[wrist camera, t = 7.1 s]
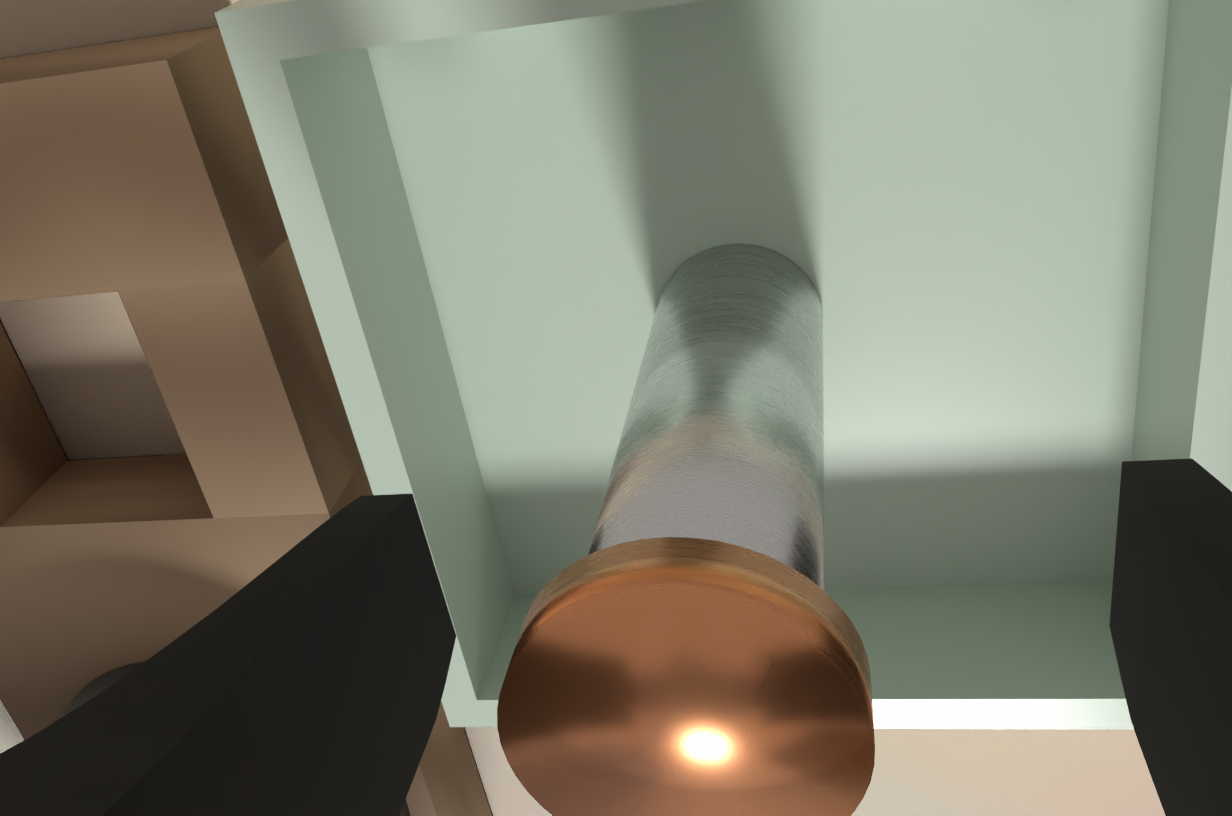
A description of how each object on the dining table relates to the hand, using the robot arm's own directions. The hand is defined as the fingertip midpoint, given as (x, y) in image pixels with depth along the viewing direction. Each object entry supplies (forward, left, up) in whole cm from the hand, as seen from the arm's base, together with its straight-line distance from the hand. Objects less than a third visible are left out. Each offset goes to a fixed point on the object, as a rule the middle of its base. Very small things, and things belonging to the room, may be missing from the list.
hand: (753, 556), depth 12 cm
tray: (0, 0, -6) cm, 6 cm away
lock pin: (0, 0, -5) cm, 5 cm away
